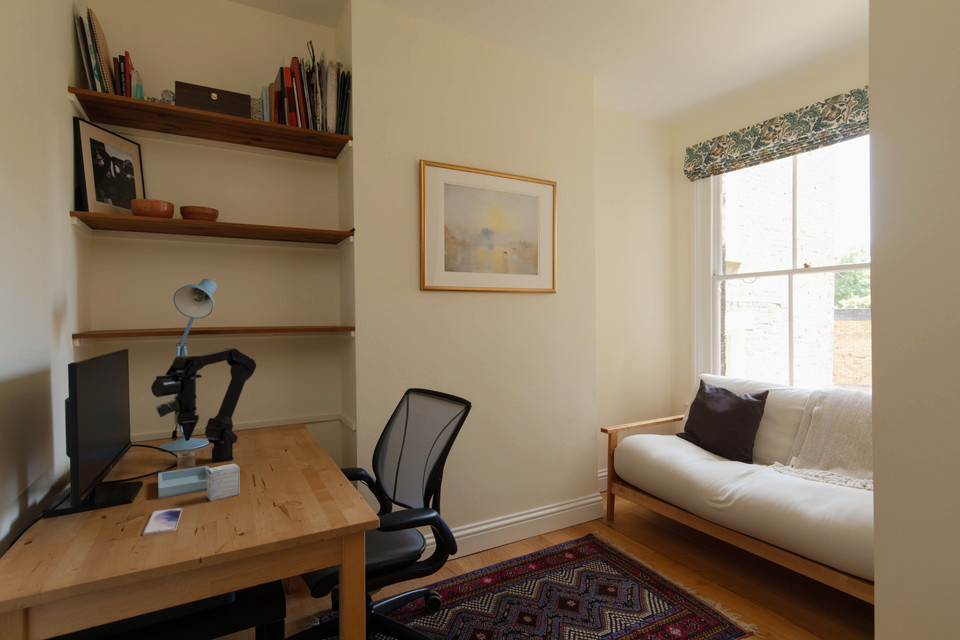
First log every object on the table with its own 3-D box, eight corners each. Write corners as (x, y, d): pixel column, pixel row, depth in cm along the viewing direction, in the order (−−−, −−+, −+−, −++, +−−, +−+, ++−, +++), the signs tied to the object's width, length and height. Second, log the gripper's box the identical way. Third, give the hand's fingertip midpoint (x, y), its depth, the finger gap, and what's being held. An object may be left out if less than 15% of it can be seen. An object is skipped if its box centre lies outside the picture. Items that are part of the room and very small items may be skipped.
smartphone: (182, 507, 133) (175, 529, 119) (182, 510, 133) (175, 532, 119) (152, 510, 130) (141, 533, 116) (152, 514, 130) (141, 537, 116)
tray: (208, 474, 161) (208, 465, 161) (212, 489, 148) (213, 479, 148) (158, 482, 153) (158, 473, 153) (158, 498, 140) (158, 488, 140)
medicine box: (235, 490, 146) (235, 462, 146) (239, 494, 143) (240, 466, 143) (206, 497, 141) (206, 468, 141) (210, 502, 138) (210, 472, 138)
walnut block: (194, 468, 167) (194, 451, 167) (195, 472, 163) (195, 454, 162) (177, 471, 164) (177, 453, 164) (178, 475, 160) (178, 457, 160)
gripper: (157, 390, 166) (157, 435, 166) (158, 398, 150) (158, 447, 151) (194, 387, 172) (194, 430, 172) (198, 395, 157) (198, 442, 157)
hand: (186, 437), depth 163 cm, fingers open, 9 cm apart
